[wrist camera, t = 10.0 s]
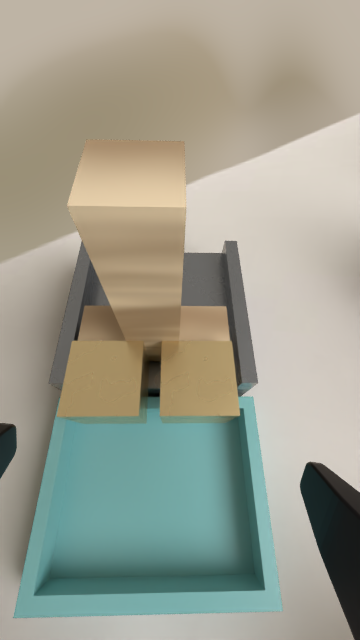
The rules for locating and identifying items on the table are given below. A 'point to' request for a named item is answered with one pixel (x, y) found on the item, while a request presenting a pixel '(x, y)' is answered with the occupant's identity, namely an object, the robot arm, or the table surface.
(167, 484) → the teal tray
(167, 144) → the light brown t-shaped block
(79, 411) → the brass block
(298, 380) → the table surface
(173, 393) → the brass block
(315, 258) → the table surface
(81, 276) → the grey tray
